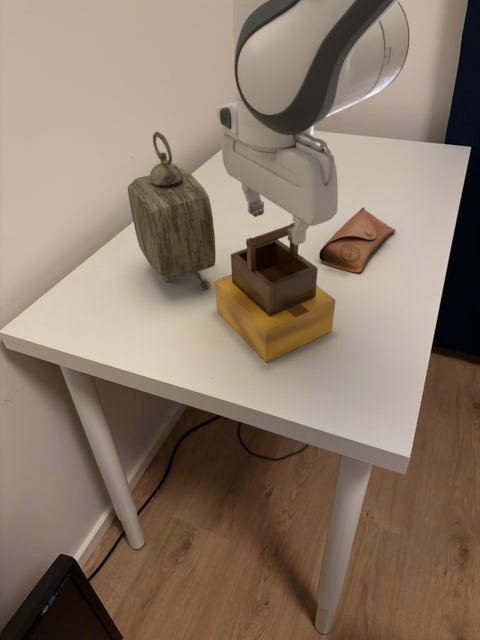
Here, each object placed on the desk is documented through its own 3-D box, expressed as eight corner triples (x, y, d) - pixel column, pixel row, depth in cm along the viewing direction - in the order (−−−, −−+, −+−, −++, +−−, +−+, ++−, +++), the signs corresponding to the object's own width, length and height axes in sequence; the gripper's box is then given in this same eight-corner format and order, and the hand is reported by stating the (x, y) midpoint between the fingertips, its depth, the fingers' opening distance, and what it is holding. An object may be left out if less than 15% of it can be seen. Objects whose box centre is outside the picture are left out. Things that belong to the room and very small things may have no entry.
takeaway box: (332, 331, 73) (335, 299, 69) (266, 362, 68) (266, 330, 64) (278, 286, 82) (278, 255, 78) (216, 311, 78) (214, 279, 74)
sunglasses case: (363, 273, 83) (348, 239, 81) (329, 280, 88) (314, 248, 86) (398, 228, 95) (385, 197, 93) (366, 237, 100) (353, 208, 97)
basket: (315, 297, 69) (320, 238, 63) (269, 316, 66) (269, 256, 60) (275, 265, 76) (276, 209, 70) (232, 282, 73) (228, 225, 67)
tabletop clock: (219, 291, 82) (207, 143, 66) (168, 308, 79) (143, 156, 63) (186, 252, 92) (169, 115, 76) (140, 265, 89) (112, 126, 73)
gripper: (357, 138, 50) (345, 253, 59) (251, 97, 64) (254, 194, 73) (309, 152, 48) (304, 270, 57) (209, 106, 62) (217, 206, 70)
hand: (275, 227), depth 65 cm, fingers open, 8 cm apart
